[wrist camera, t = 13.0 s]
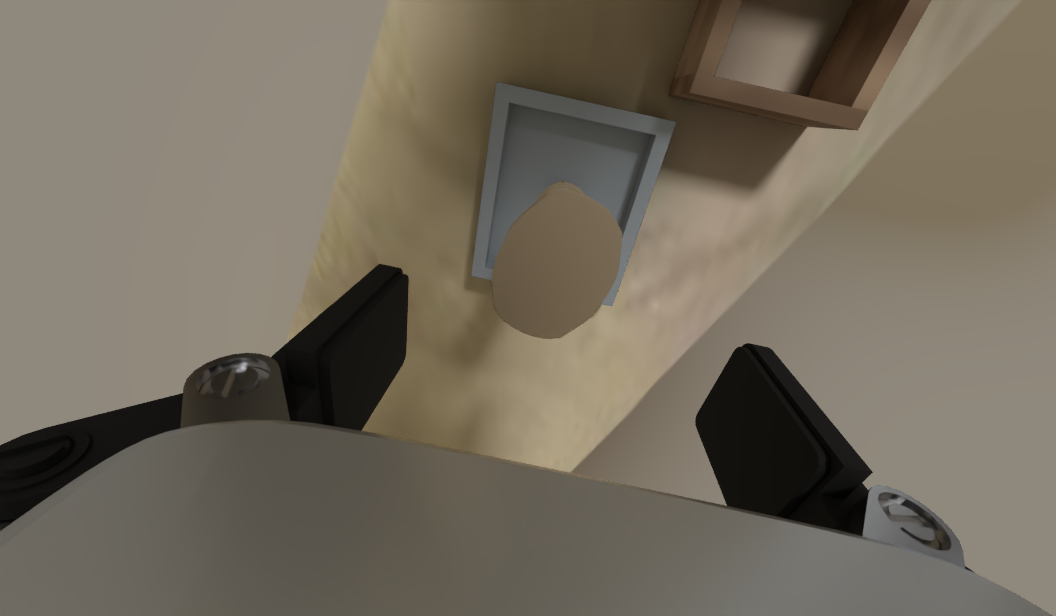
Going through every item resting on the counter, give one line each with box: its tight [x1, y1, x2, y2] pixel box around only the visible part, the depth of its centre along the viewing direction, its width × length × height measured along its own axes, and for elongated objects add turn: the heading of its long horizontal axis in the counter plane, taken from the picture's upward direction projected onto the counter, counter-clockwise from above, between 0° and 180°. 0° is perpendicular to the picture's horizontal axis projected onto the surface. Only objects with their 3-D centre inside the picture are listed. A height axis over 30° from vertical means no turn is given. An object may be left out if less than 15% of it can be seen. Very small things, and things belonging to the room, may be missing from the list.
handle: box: [492, 180, 622, 339], centre depth 22 cm, size 5×6×15 cm
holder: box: [668, 0, 931, 130], centre depth 21 cm, size 11×10×5 cm
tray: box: [471, 82, 676, 306], centre depth 29 cm, size 14×12×2 cm
